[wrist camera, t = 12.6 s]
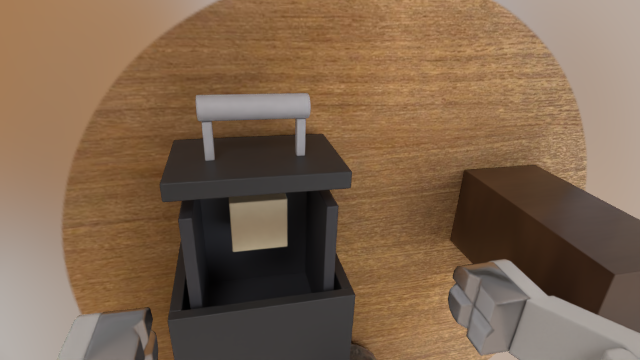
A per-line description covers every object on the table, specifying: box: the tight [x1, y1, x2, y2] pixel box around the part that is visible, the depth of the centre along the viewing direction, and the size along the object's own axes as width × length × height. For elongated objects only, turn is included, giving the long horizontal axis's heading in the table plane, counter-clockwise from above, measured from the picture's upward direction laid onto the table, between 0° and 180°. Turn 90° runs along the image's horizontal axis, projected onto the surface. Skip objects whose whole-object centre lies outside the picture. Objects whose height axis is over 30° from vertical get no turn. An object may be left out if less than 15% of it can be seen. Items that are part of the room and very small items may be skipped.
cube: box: [229, 193, 287, 252], centre depth 29 cm, size 4×4×4 cm
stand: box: [450, 165, 640, 333], centre depth 32 cm, size 8×8×16 cm
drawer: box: [160, 93, 352, 309], centre depth 28 cm, size 18×11×8 cm, turn 178°
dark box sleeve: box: [168, 242, 355, 360], centre depth 33 cm, size 15×13×10 cm
